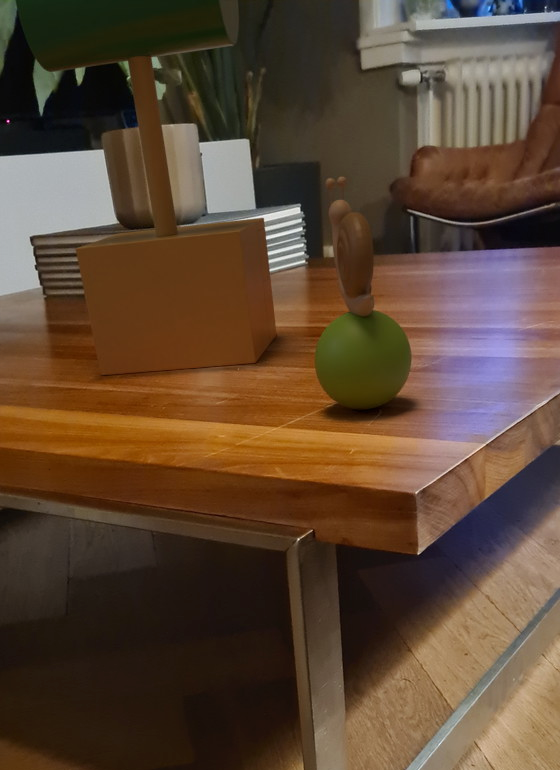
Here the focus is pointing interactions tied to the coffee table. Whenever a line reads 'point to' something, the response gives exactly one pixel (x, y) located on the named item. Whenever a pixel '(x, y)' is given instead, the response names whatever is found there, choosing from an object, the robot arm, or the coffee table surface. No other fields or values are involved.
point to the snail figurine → (359, 323)
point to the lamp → (160, 202)
